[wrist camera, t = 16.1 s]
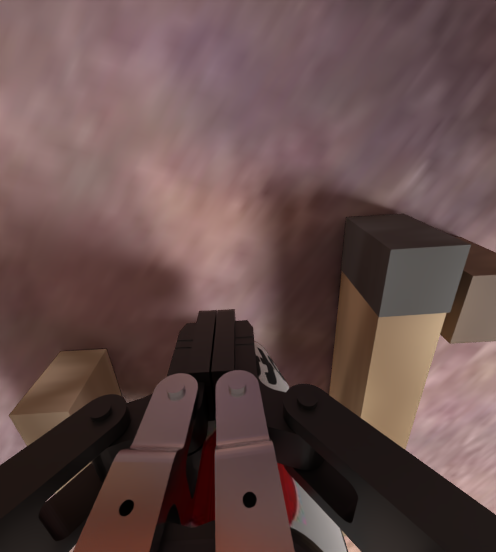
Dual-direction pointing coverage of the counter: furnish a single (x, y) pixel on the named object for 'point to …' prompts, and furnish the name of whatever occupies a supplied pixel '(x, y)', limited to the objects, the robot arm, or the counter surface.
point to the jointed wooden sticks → (101, 381)
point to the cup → (298, 502)
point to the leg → (391, 316)
